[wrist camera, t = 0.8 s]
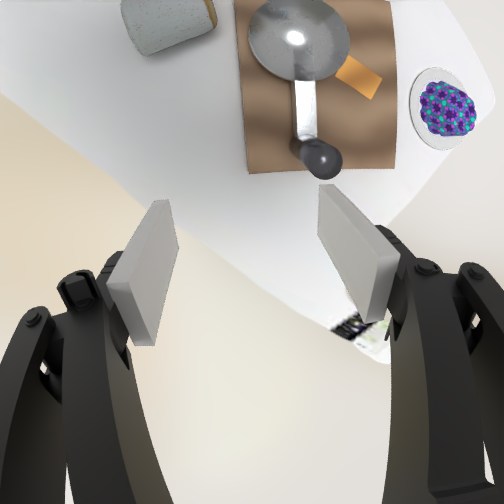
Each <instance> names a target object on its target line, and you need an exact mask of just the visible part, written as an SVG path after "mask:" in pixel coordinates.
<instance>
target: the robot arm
mask: <svg viewBox="0 0 504 504" xmlns="http://www.w3.org/2000/svg"><path fill="white" fill-rule="evenodd" d="M317 235H318V237H319V238H320V240H321V242H322V244H323V246H324V247H325V249H326V251H327V253H328V255H329V256H330V258H331V260H332V262H333V264H334V266H335V267H336V269H337V271H338V273H339V275H340V277H341V279H342V281H343V282H344V284H345V286H346V288H347V290H348V292H349V294H350V296H351V298H352V300H353V302H354V304H355V306H356V308H357V310H358V312H359V314H360V316H361V318H362V320H363V322H364V324H366V323H371V322H376V321H381V320H383V319H384V316H385V313H386V309H387V308H388V309H389V311H390V313H391V315H392V317H391V320H390V323H389V326H388V329H387V332H386V335H385V339H384V341H387V339H388V337H389V335H390V346H391V379H392V380H391V384H392V385H391V387H392V388H391V391H392V392H391V425H390V441H389V454H388V463H387V471H386V479H385V487H384V493H383V499H382V504H504V290H503V289H502V288H501V287H500V285H499V284H498V283H497V282H496V280H495V279H494V278H493V277H492V276H491V274H490V273H489V272H488V271H487V270H486V269H485V268H484V267H482V266H480V265H479V264H476V263H473V262H472V263H470V262H466V263H463V264H462V265H461V266H460V269H459V272H458V274H448V273H443V272H442V270H441V268H440V267H439V266H438V265H437V264H436V263H434V262H433V261H430V260H428V259H423V258H416V257H415V256H414V255H413V254H412V253H411V252H410V250H409V249H408V248H407V247H406V246H405V245H404V244H403V243H402V242H401V241H400V240H399V239H398V238H397V237H396V236H395V235H394V234H393V233H392V231H390V230H389V229H387V228H385V227H383V226H382V225H373V224H372V223H371V221H370V220H369V219H368V218H367V217H366V216H365V215H364V214H363V213H362V212H361V211H360V210H359V209H358V208H357V207H356V206H355V205H354V204H353V203H352V202H351V201H350V200H349V199H348V198H347V197H346V196H345V195H344V194H343V193H342V192H341V191H340V190H339V189H338V188H337V187H336V186H335V185H334V184H329V185H319V205H318V234H317ZM178 249H179V246H178V242H177V237H176V233H175V228H174V223H173V218H172V213H171V208H170V203H169V199H166V200H159V201H154V202H153V203H152V205H151V207H150V208H149V210H148V211H147V213H146V215H145V216H144V218H143V219H142V221H141V223H140V225H139V226H138V228H137V229H136V231H135V233H134V234H133V236H132V238H131V239H130V241H129V243H128V245H127V247H126V248H125V250H124V251H117V252H116V253H114V254H113V255H112V256H111V257H110V258H109V259H108V260H107V262H106V264H105V265H104V268H103V269H102V270H101V272H100V274H99V276H98V277H97V279H96V280H95V277H94V275H93V273H92V272H91V271H89V270H79V271H75V272H73V273H71V274H69V275H67V276H66V277H64V278H63V279H62V280H61V281H60V282H59V284H58V286H57V290H58V292H59V294H60V295H61V298H62V300H63V301H64V304H65V305H66V307H67V312H65V313H62V314H58V315H55V316H51V314H50V312H49V311H48V309H47V308H46V307H44V306H38V307H35V308H32V309H30V310H28V312H27V313H26V314H25V315H24V316H23V317H22V319H21V320H20V322H19V324H18V326H17V328H16V330H15V332H14V334H13V336H12V338H11V341H10V343H9V345H8V347H7V349H6V352H5V354H4V356H3V359H2V361H1V364H0V504H65V482H66V467H68V474H69V479H70V486H71V491H72V496H73V500H74V504H174V503H173V501H172V498H171V496H170V493H169V491H168V488H167V486H166V483H165V481H164V478H163V475H162V472H161V469H160V466H159V463H158V460H157V457H156V454H155V451H154V448H153V445H152V441H151V438H150V435H149V431H148V428H147V424H146V421H145V417H144V413H143V409H142V405H141V401H140V397H139V393H138V388H137V384H136V379H135V374H134V369H133V365H132V359H131V353H130V351H129V349H128V347H127V345H126V343H127V340H128V337H129V336H130V338H131V340H132V342H133V344H134V345H135V346H154V345H155V341H156V337H157V331H158V328H159V323H160V319H161V315H162V311H163V306H164V303H165V298H166V294H167V291H168V287H169V283H170V279H171V275H172V272H173V268H174V264H175V261H176V257H177V253H178ZM476 313H477V315H478V316H479V318H480V321H479V323H478V325H477V327H476V328H475V327H474V326H473V324H472V321H473V319H474V317H475V315H476ZM42 362H43V363H44V365H45V366H46V367H47V370H46V372H45V374H44V373H43V372H42V371H41V370H40V366H41V363H42ZM483 441H484V443H483ZM484 444H485V448H486V451H487V455H488V458H489V463H490V466H491V471H492V475H493V480H494V484H495V485H494V484H492V483H490V482H488V481H487V479H486V478H485V462H484Z"/></svg>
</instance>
